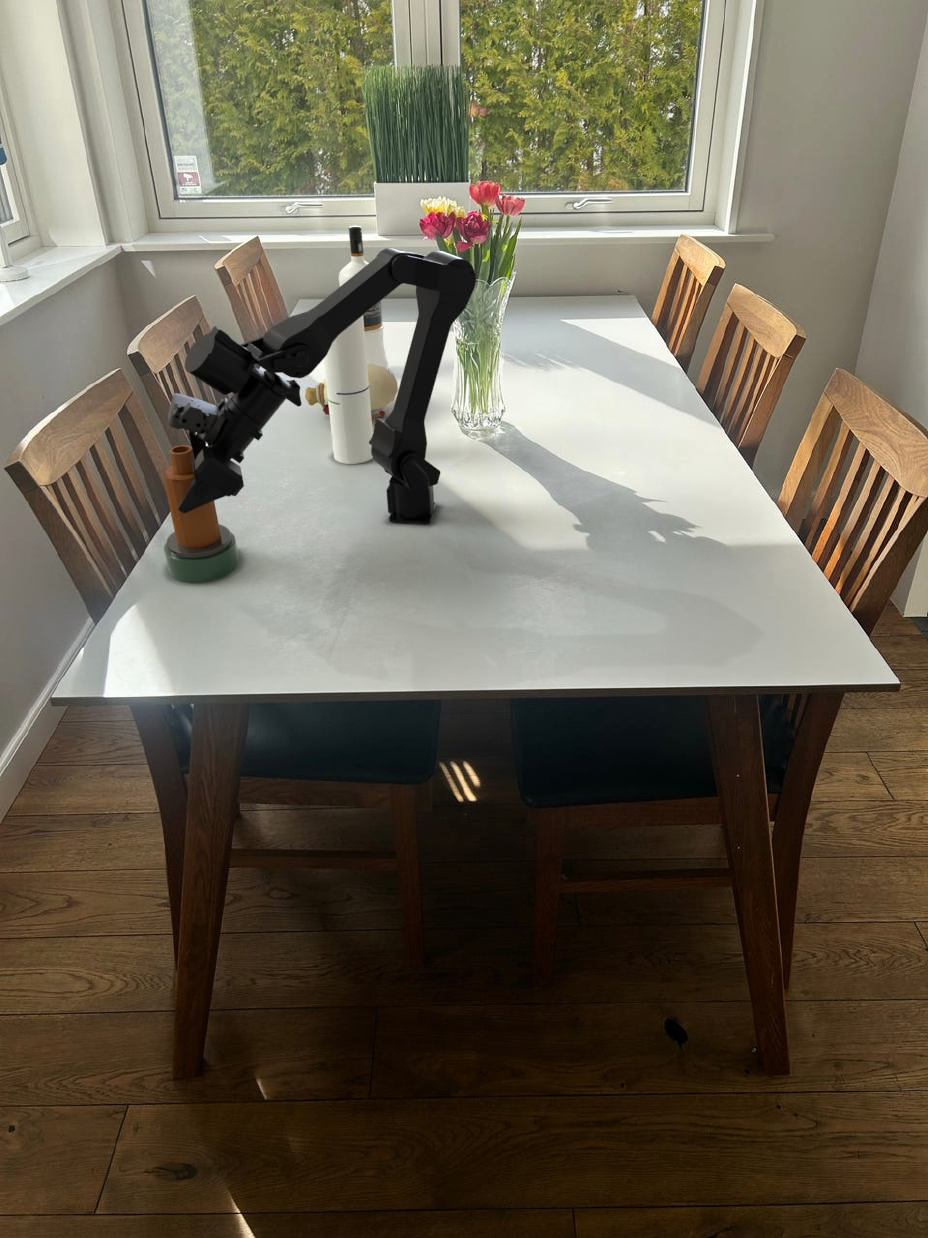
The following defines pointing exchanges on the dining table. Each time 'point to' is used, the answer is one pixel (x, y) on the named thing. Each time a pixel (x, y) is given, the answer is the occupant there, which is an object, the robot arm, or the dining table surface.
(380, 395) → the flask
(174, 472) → the amber bottle
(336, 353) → the cylindrical container
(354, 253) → the vodka
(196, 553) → the green jar
